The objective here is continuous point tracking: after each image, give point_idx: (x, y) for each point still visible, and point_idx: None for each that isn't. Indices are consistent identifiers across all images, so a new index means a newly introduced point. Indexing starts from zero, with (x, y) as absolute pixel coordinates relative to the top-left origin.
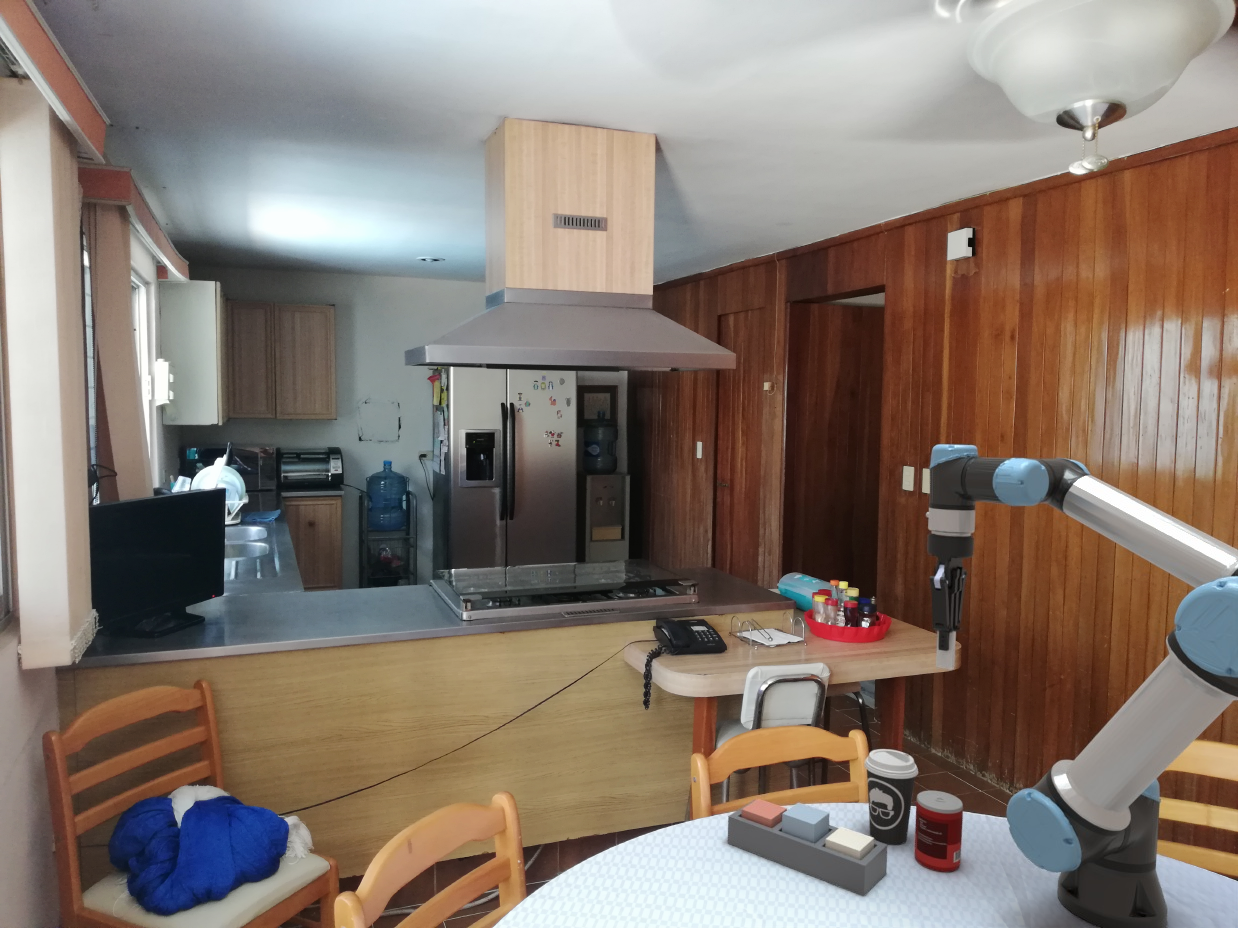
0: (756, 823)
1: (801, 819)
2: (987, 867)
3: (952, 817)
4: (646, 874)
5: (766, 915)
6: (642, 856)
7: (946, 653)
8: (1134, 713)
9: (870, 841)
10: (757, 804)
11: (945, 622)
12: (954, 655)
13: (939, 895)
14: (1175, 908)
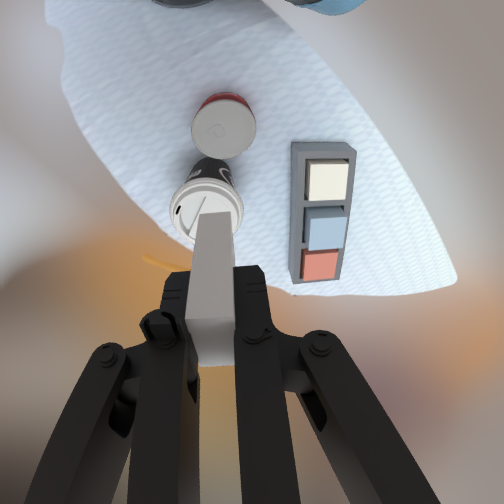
0: (338, 258)
1: (343, 230)
2: (196, 72)
3: (242, 103)
4: (401, 271)
5: (411, 190)
6: (382, 286)
7: (233, 263)
8: None
9: (320, 164)
10: (315, 274)
11: (356, 372)
12: (201, 240)
13: (295, 87)
14: None
